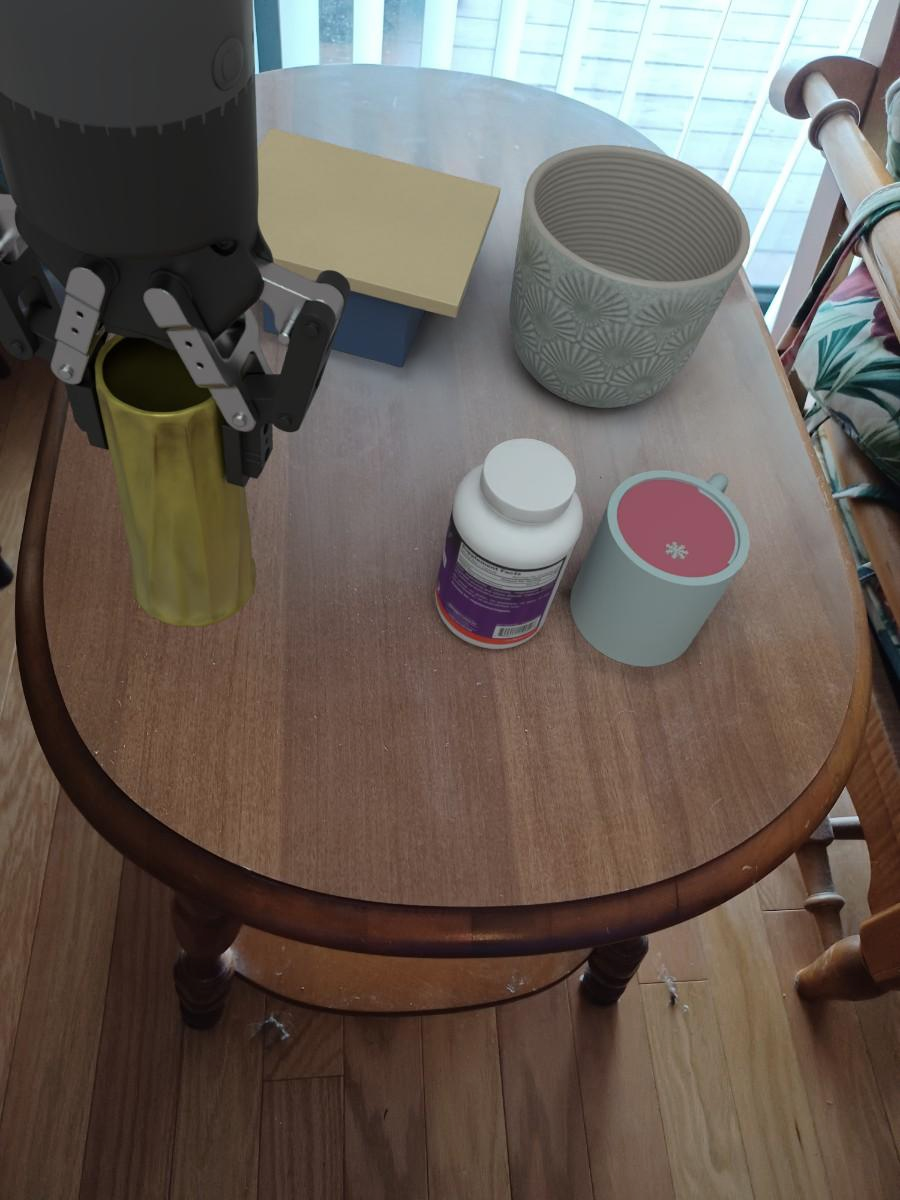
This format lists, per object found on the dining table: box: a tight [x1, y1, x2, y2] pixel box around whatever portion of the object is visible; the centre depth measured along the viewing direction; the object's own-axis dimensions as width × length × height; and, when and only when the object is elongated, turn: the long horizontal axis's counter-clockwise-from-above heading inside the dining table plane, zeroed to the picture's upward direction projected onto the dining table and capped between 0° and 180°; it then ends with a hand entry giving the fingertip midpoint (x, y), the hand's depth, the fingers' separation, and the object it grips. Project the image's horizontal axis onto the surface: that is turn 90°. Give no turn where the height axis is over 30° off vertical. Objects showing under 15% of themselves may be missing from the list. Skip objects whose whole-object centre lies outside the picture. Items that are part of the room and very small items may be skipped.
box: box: [257, 127, 501, 368], centre depth 79 cm, size 20×16×9 cm
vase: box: [95, 334, 257, 628], centre depth 42 cm, size 6×6×14 cm
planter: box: [508, 144, 751, 409], centre depth 76 cm, size 17×17×15 cm
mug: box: [569, 469, 751, 668], centre depth 65 cm, size 14×9×10 cm
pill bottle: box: [434, 437, 584, 650], centre depth 61 cm, size 8×8×14 cm
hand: (176, 451), depth 40 cm, fingers closed on vase, 5 cm apart
